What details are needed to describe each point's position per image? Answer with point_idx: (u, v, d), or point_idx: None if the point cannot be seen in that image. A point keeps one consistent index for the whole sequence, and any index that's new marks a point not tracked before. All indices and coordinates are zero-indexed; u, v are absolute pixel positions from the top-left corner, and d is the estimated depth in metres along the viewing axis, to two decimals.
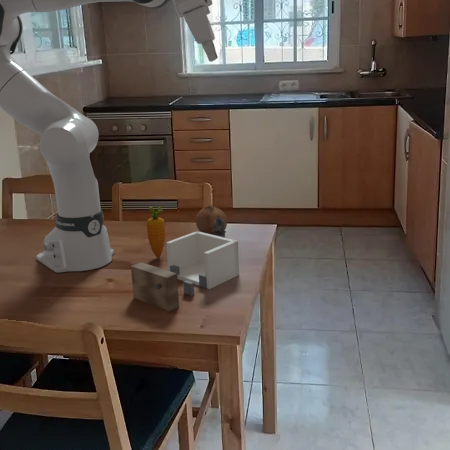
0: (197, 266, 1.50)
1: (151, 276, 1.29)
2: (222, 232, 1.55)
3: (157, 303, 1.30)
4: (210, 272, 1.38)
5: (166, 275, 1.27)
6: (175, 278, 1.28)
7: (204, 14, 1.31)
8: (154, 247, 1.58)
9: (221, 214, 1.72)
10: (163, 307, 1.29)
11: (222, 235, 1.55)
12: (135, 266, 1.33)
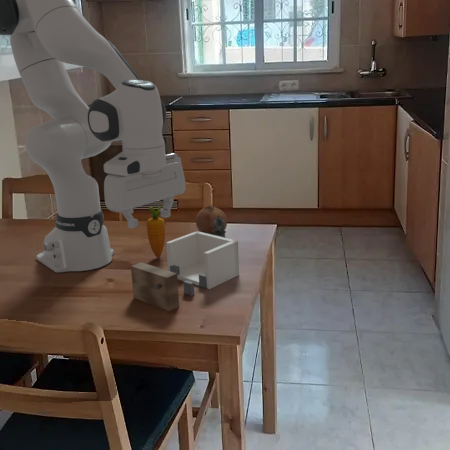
0: (197, 266, 1.50)
1: (151, 276, 1.29)
2: (222, 232, 1.55)
3: (157, 303, 1.30)
4: (210, 272, 1.38)
5: (166, 275, 1.27)
6: (175, 278, 1.28)
7: (117, 187, 1.16)
8: (154, 247, 1.58)
9: (221, 214, 1.72)
10: (163, 307, 1.29)
11: (222, 235, 1.55)
12: (135, 266, 1.33)
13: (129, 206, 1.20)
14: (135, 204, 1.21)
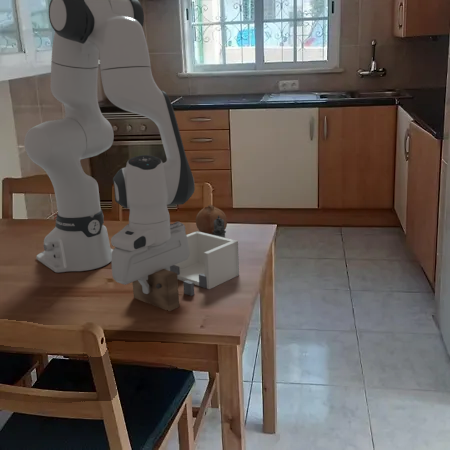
0: (197, 266, 1.50)
1: (151, 276, 1.29)
2: (222, 232, 1.55)
3: (157, 303, 1.30)
4: (210, 272, 1.38)
5: (166, 274, 1.27)
6: (175, 278, 1.27)
7: (124, 261, 1.21)
8: None
9: (221, 214, 1.72)
10: (163, 307, 1.29)
11: (222, 235, 1.55)
12: None
13: (135, 278, 1.24)
14: (141, 275, 1.25)
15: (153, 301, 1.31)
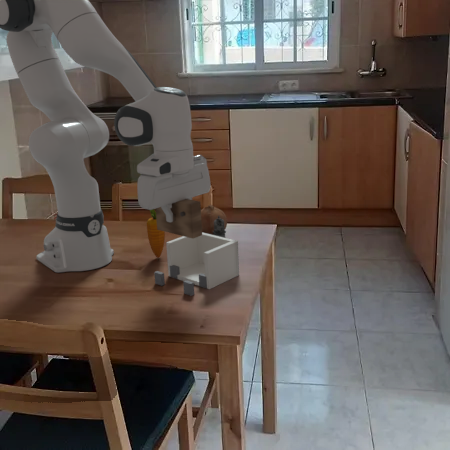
0: (197, 266, 1.50)
1: (175, 205, 1.34)
2: (222, 232, 1.55)
3: (180, 232, 1.35)
4: (210, 272, 1.38)
5: (190, 202, 1.31)
6: (198, 206, 1.32)
7: (150, 186, 1.25)
8: (154, 247, 1.58)
9: (221, 214, 1.72)
10: (187, 235, 1.33)
11: (222, 235, 1.55)
12: None
13: (160, 204, 1.29)
14: (166, 202, 1.30)
15: (177, 230, 1.35)
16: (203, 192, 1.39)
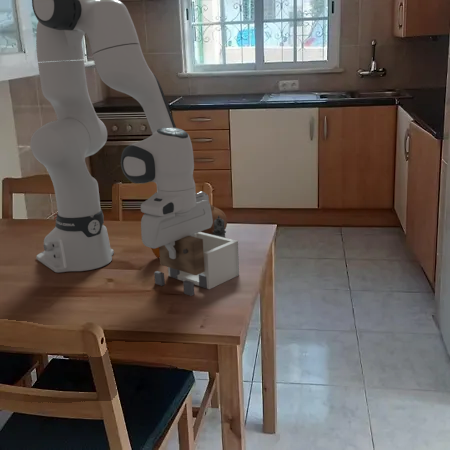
0: None
1: (178, 242, 1.36)
2: (222, 232, 1.55)
3: (183, 268, 1.37)
4: (210, 272, 1.38)
5: (193, 240, 1.34)
6: (201, 243, 1.35)
7: (153, 226, 1.28)
8: None
9: (221, 214, 1.72)
10: (189, 271, 1.36)
11: (222, 235, 1.55)
12: None
13: (163, 242, 1.32)
14: (169, 240, 1.33)
15: (179, 266, 1.38)
16: (205, 228, 1.42)
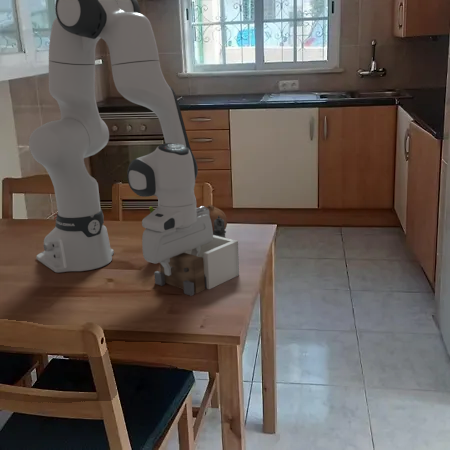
0: None
1: (178, 261, 1.38)
2: (222, 232, 1.55)
3: None
4: (210, 272, 1.38)
5: (193, 259, 1.36)
6: (201, 262, 1.36)
7: (155, 241, 1.29)
8: None
9: (221, 214, 1.72)
10: None
11: (222, 235, 1.55)
12: None
13: (164, 257, 1.33)
14: (170, 255, 1.34)
15: (180, 284, 1.40)
16: (206, 242, 1.43)
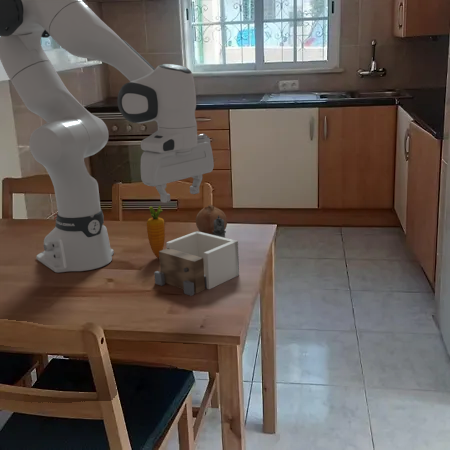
0: None
1: (178, 261, 1.38)
2: (222, 232, 1.55)
3: None
4: (210, 272, 1.38)
5: (193, 259, 1.36)
6: (201, 262, 1.36)
7: (153, 162, 1.25)
8: (154, 247, 1.58)
9: (221, 214, 1.72)
10: None
11: (222, 235, 1.55)
12: (163, 251, 1.41)
13: (163, 181, 1.29)
14: (168, 180, 1.30)
15: (180, 284, 1.40)
16: (206, 171, 1.39)
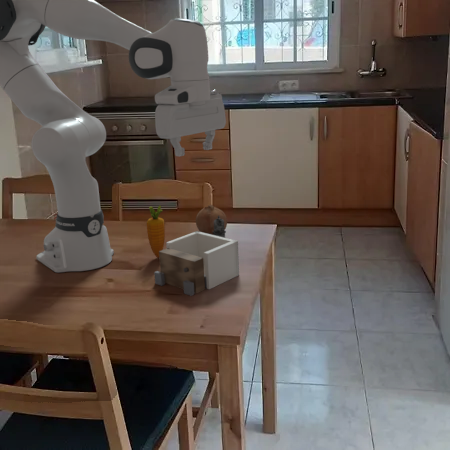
0: None
1: (178, 261, 1.38)
2: (222, 232, 1.55)
3: None
4: (210, 272, 1.38)
5: (193, 259, 1.36)
6: (201, 262, 1.36)
7: (168, 114, 1.27)
8: (154, 247, 1.58)
9: (221, 214, 1.72)
10: None
11: (222, 235, 1.55)
12: (163, 251, 1.41)
13: (178, 134, 1.31)
14: (183, 133, 1.32)
15: (180, 284, 1.40)
16: (219, 127, 1.41)
